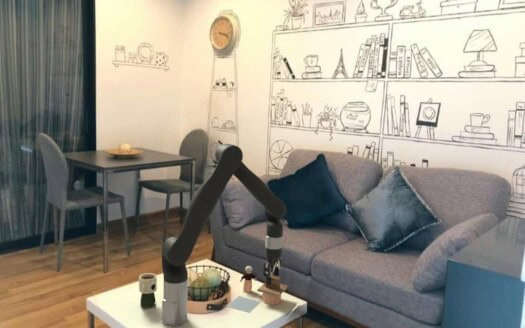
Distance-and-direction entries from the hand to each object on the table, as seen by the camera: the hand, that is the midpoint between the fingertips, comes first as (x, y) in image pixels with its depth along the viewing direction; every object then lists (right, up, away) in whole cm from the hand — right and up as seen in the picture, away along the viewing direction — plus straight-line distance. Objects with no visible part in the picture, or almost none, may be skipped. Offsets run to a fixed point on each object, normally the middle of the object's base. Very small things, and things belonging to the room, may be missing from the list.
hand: (272, 281), depth 189 cm
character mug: (-53, -9, -6) cm, 54 cm away
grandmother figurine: (-11, -8, +10) cm, 16 cm away
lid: (0, -4, 0) cm, 4 cm away
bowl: (0, -9, +2) cm, 10 cm away
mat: (-12, -10, -3) cm, 16 cm away
